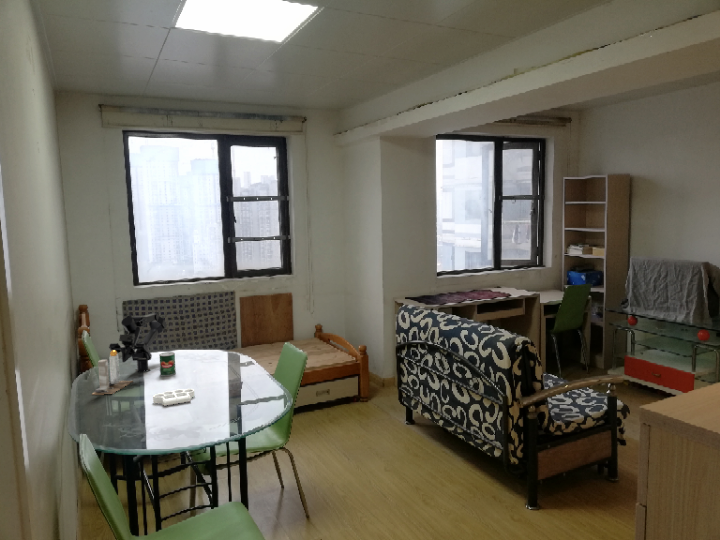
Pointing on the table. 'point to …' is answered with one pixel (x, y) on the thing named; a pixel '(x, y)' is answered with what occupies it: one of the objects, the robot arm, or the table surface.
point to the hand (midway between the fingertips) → (123, 361)
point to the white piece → (174, 397)
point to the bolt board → (116, 387)
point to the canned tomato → (167, 363)
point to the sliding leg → (114, 368)
